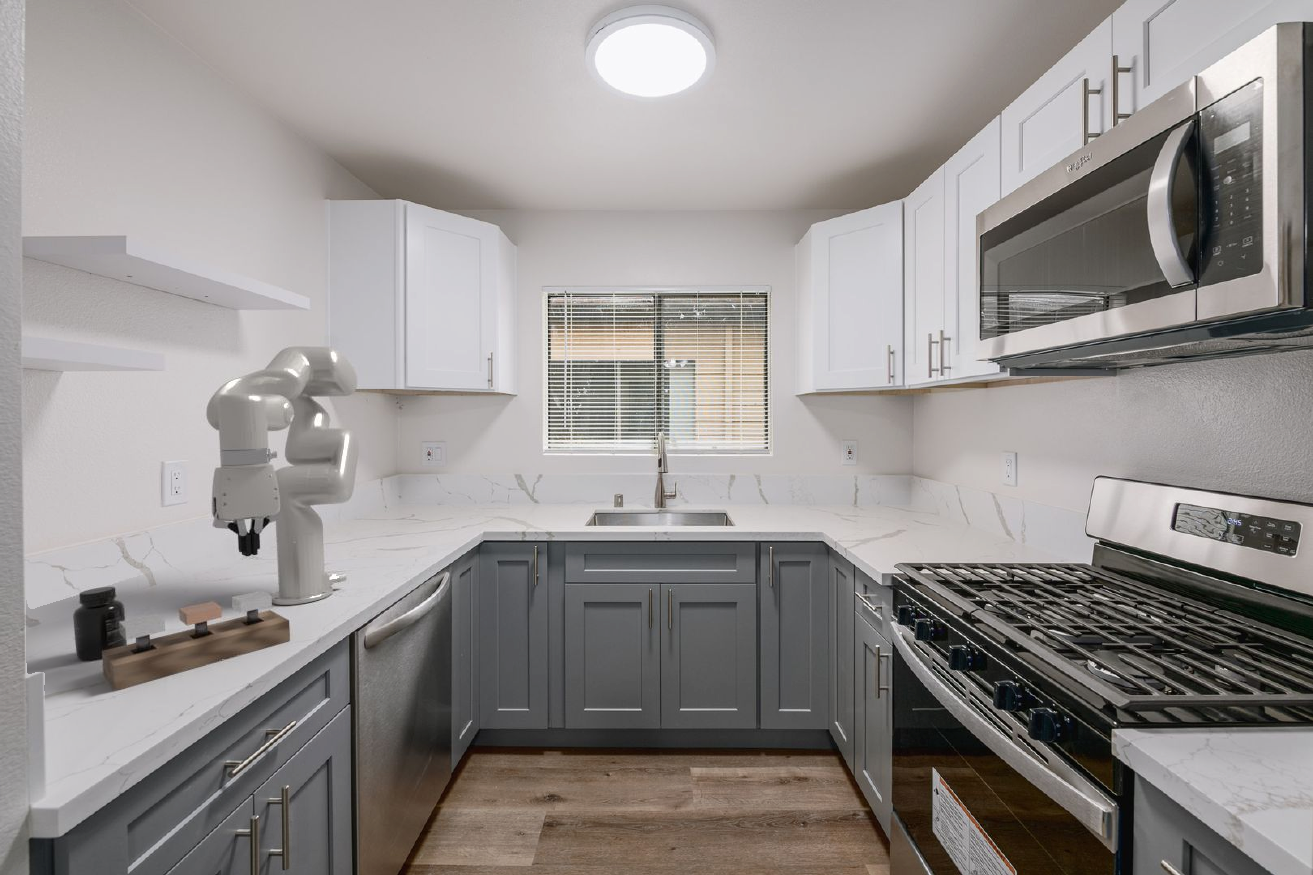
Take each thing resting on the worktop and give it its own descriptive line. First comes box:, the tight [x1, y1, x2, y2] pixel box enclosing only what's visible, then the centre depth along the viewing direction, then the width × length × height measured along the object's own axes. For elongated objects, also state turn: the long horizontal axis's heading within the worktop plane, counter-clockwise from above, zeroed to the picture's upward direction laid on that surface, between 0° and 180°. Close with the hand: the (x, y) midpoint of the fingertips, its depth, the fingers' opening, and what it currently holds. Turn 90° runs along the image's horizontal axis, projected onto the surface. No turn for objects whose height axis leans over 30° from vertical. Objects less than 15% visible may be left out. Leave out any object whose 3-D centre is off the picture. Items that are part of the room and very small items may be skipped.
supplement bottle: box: [72, 586, 128, 662], centre depth 107 cm, size 7×7×12 cm
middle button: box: [178, 601, 223, 639], centre depth 105 cm, size 5×5×6 cm
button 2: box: [231, 590, 273, 626], centre depth 111 cm, size 5×5×6 cm
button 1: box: [119, 613, 166, 654], centre depth 99 cm, size 5×5×6 cm
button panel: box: [102, 609, 291, 692], centre depth 105 cm, size 25×10×4 cm, turn 142°
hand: (249, 554), depth 111 cm, fingers closed
